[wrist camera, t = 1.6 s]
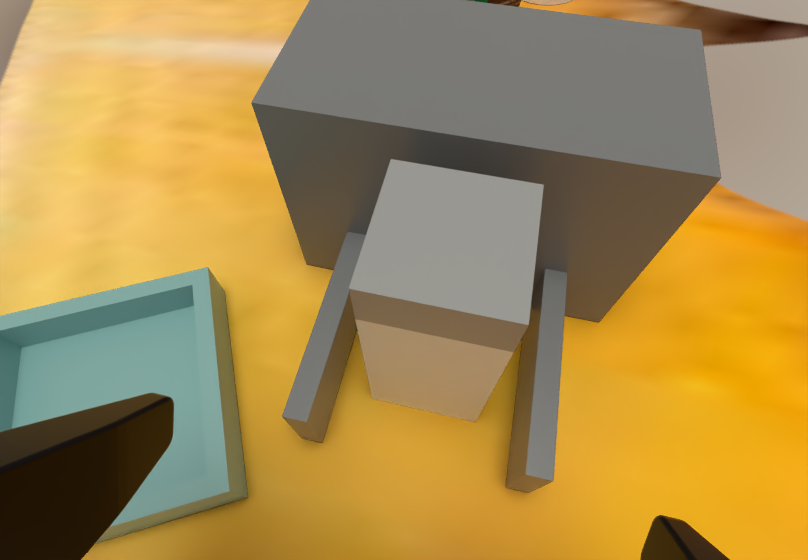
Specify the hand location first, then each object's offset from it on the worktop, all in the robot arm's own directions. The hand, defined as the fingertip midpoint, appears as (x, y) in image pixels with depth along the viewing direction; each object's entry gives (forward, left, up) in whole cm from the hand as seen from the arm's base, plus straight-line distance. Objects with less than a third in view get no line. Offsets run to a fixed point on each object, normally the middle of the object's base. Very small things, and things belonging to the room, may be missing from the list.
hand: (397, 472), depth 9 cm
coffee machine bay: (+10, -3, -13) cm, 17 cm away
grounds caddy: (+7, -2, -13) cm, 15 cm away
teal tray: (+6, +13, -13) cm, 19 cm away
